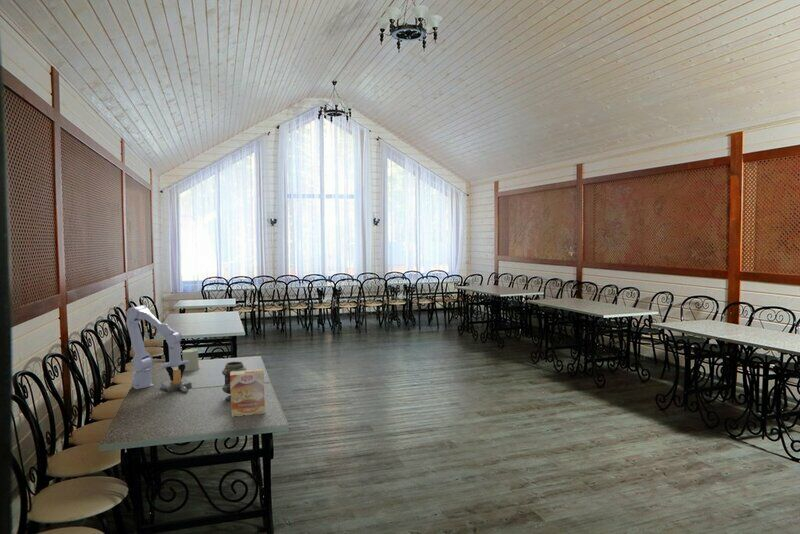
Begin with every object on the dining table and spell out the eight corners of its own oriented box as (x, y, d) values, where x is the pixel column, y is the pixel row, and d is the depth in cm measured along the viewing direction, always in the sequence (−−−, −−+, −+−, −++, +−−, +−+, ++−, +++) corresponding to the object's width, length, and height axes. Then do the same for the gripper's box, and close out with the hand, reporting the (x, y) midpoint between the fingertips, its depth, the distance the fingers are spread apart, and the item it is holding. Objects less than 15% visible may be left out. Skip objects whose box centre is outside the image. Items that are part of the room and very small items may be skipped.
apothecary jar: (252, 395, 282) (250, 360, 281) (239, 402, 270) (237, 366, 269) (231, 393, 285) (230, 359, 284) (217, 401, 274) (216, 365, 272)
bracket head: (174, 395, 285) (173, 390, 284) (161, 387, 300) (161, 382, 299) (197, 390, 292) (197, 385, 292) (183, 382, 307) (183, 378, 307)
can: (195, 371, 332) (194, 351, 331) (180, 371, 332) (179, 351, 332) (201, 367, 341) (200, 347, 340) (186, 367, 342) (185, 348, 341)
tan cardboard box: (173, 385, 296) (173, 371, 295) (171, 384, 299) (170, 369, 298) (181, 384, 299) (180, 369, 298) (178, 382, 302) (178, 368, 301)
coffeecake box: (231, 417, 250) (229, 375, 249) (231, 412, 257) (229, 371, 256) (265, 413, 254) (263, 372, 253) (264, 408, 261) (263, 368, 260)
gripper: (163, 358, 290) (164, 383, 291) (191, 353, 299) (192, 378, 300) (158, 356, 295) (160, 381, 296) (186, 351, 305) (187, 375, 306)
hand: (176, 379), depth 299 cm, fingers closed on tan cardboard box, 4 cm apart
